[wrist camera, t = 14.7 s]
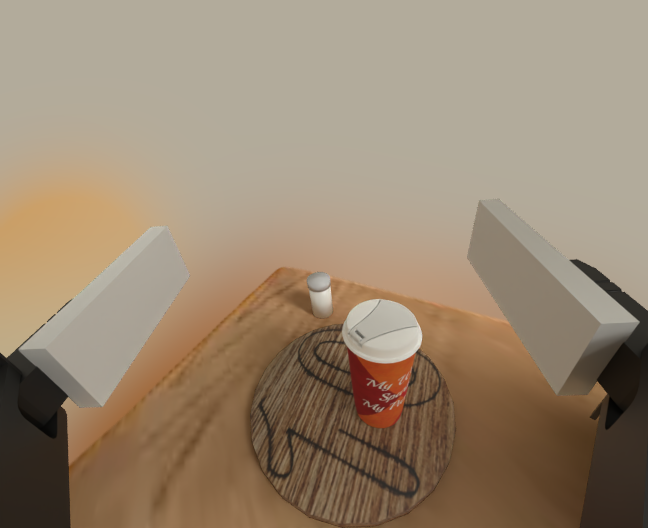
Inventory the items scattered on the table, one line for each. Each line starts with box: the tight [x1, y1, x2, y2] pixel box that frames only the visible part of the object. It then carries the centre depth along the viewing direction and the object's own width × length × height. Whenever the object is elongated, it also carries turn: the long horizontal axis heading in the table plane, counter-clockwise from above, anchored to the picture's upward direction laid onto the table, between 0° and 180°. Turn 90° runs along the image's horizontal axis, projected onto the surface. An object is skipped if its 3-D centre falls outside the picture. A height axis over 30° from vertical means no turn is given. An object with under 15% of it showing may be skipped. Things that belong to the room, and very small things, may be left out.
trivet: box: [250, 324, 456, 528], centre depth 38 cm, size 25×25×2 cm
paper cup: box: [342, 299, 422, 428], centre depth 32 cm, size 8×8×14 cm
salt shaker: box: [307, 272, 333, 318], centre depth 50 cm, size 4×4×7 cm
